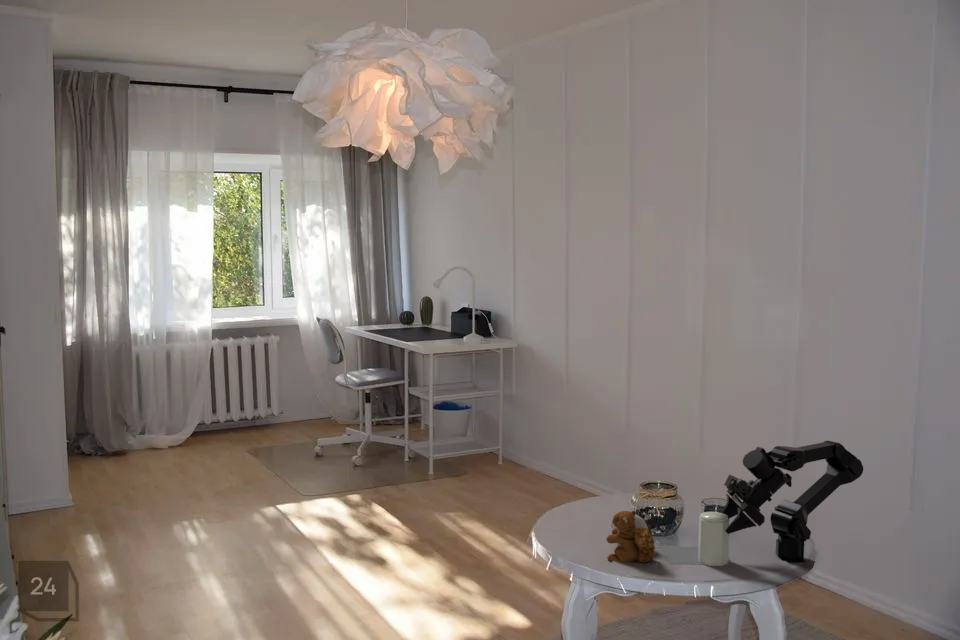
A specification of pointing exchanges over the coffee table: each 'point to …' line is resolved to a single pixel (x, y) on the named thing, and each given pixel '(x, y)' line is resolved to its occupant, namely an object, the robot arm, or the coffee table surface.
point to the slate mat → (684, 555)
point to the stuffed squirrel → (630, 540)
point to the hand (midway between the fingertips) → (722, 526)
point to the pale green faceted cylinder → (713, 539)
